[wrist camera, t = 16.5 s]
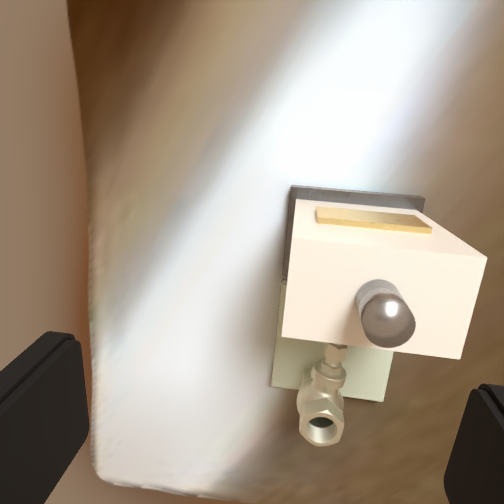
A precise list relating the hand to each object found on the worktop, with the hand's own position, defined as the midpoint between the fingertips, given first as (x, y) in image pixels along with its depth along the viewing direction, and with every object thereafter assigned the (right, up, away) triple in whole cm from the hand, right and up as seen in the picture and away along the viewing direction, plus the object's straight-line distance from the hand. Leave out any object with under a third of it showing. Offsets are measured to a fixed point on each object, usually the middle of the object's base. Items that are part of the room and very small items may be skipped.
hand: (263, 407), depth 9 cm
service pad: (+8, -5, +29) cm, 30 cm away
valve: (+7, -5, +28) cm, 29 cm away
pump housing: (+8, +5, +25) cm, 27 cm away
